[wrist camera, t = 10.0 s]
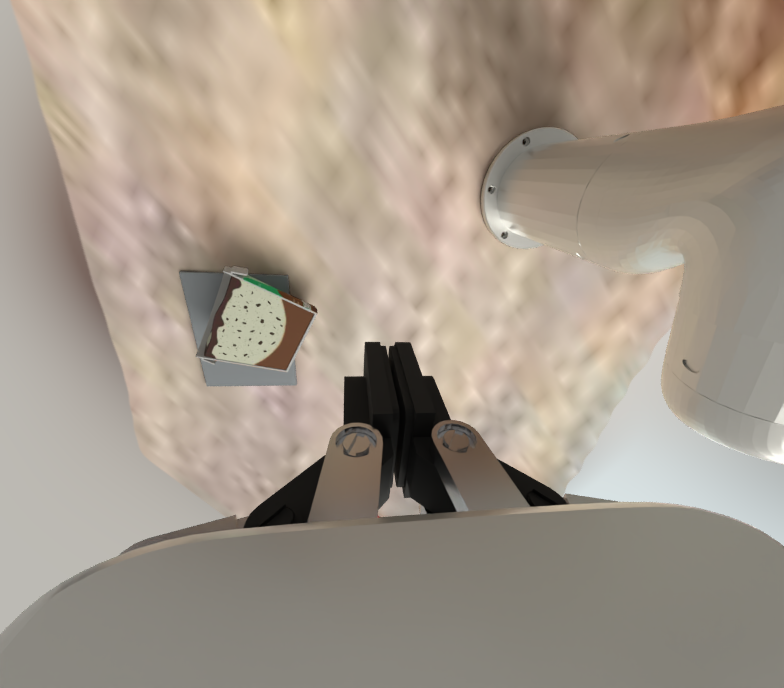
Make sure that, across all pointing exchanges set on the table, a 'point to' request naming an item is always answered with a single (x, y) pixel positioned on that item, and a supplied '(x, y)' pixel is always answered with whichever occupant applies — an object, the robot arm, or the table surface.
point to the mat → (200, 304)
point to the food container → (254, 324)
